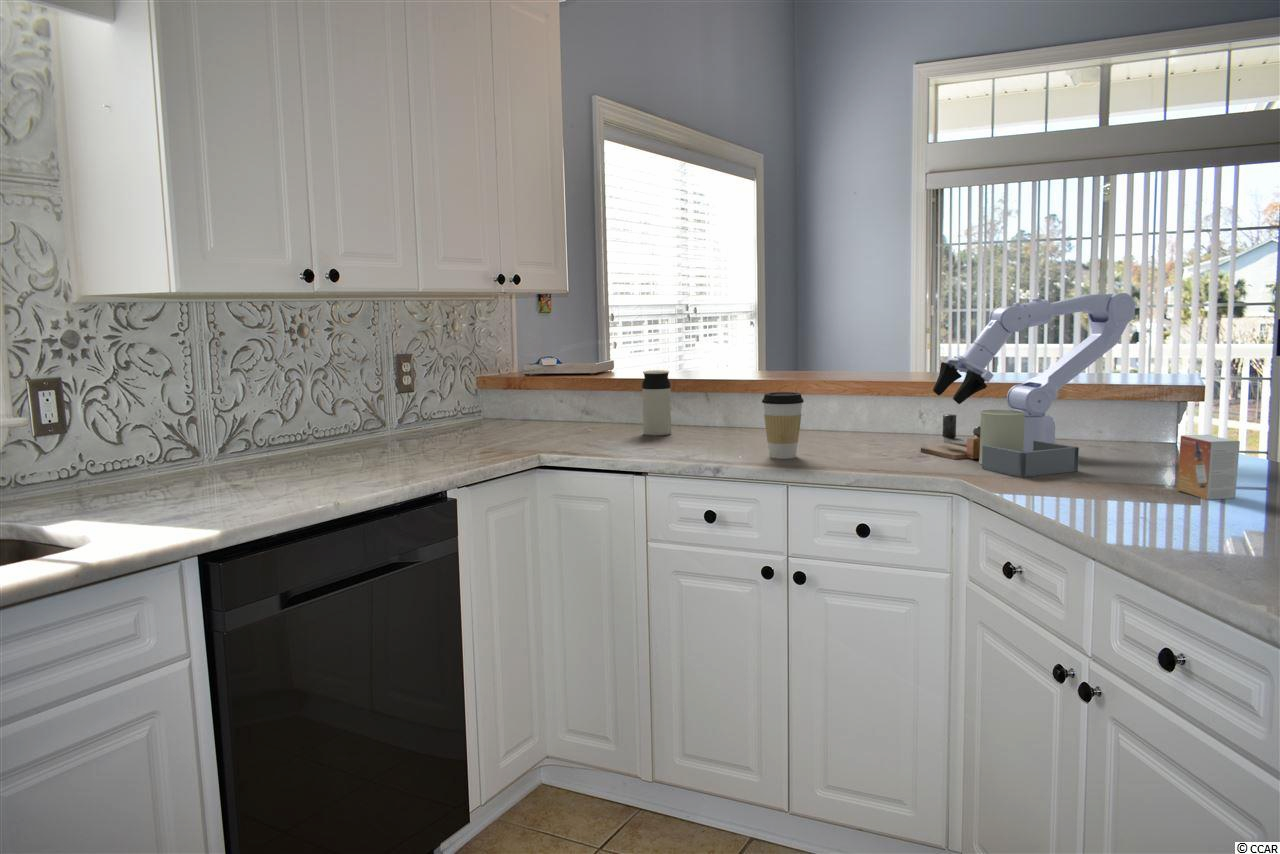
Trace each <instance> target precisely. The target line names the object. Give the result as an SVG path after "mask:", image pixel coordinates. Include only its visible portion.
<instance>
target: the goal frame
mask: <svg viewBox="0 0 1280 854" xmlns="http://www.w3.org/2000/svg"><path fill="white" fill-rule="evenodd" d="M1079 448H1080V447H1078V446H1073V445H1072V446H1071V445H1067V444H1062V443H1061V444H1060V443H1050V442H1044V441H1039V440H1034V441H1033V451H1029V452H1020V451H1015V450H1010V449H1004V448H999V447H994V446H988V445H983V449H982V465H981V469H982V468H983V470H987V469H988V471H991V470H992V472H996V473H999V474H1000V473H1001V474H1004V473H1005V475H1010V476H1013V475H1014V476H1015V477H1019V478H1026V477H1027V476H1029V477H1037V475H1038V476H1046V475H1054V474H1061V473H1062V474H1064V473H1071V472H1078V471H1079V470H1078V469H1079V454H1080V453H1079V452H1080V451H1079V450H1080V449H1079ZM1027 478H1028V477H1027Z"/></svg>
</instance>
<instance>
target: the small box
mask: <svg viewBox="0 0 1280 854" xmlns="http://www.w3.org/2000/svg"><path fill="white" fill-rule="evenodd" d="M1240 443H1241V442H1240V441H1239V440H1238V439H1229V438H1224V437H1219V436H1214V435H1212V434H1211V435H1210V434H1185V435H1183V434H1182V435H1180V442H1179V457H1178V470H1177V480H1176V491H1179V492H1183V493H1186V494H1188V495H1191V496H1195V497H1198V498H1201V499H1204V500H1206V501H1209V500H1232V499H1236V492H1237V491H1236V490H1237V483H1238V482H1237V479H1238V469H1239V468H1238V467H1239V455H1240Z"/></svg>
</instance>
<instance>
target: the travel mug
mask: <svg viewBox="0 0 1280 854" xmlns="http://www.w3.org/2000/svg"><path fill="white" fill-rule="evenodd" d="M669 373H670V370H665V369H663V370H662V369H657V370H656V369H654V370H652V369H651V370H649V369H648V370H644V371H643V372H642V374H643V377H644V378H643V381H642V383H641V386H642V387H641V388H642V424H643V425H642V427H643V428H642V432H643V434H644V435H646V436H653V437H658V436H659V437H660V436H661V437H663V436H668V435H670V434H672V401H671V399H672V397H671V396H672V395H671V381H670V379H669Z"/></svg>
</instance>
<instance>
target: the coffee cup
mask: <svg viewBox="0 0 1280 854" xmlns="http://www.w3.org/2000/svg"><path fill="white" fill-rule="evenodd" d="M804 402H805V400H804V398H803V397H802V394H801V393H800V392H796V391H795V392H794V391H793V392H792V391H791V392H790V391H780V392H779V391H778V392H776V391H773V392H766V393H764V395H763V398H762V399H761V403H762V404H763V411H764V415H763V416H764V417H763V418H764V424H765V433H766V440H767V444H768V452H769V458H772V459H777V460H778V459H780V460H782V459H783V460H786V459H795V458H796V457H797V451H798V450H797V449H798V443H799V437H800V429H801V421H802V408H803V407H802V406H803V403H804Z"/></svg>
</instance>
